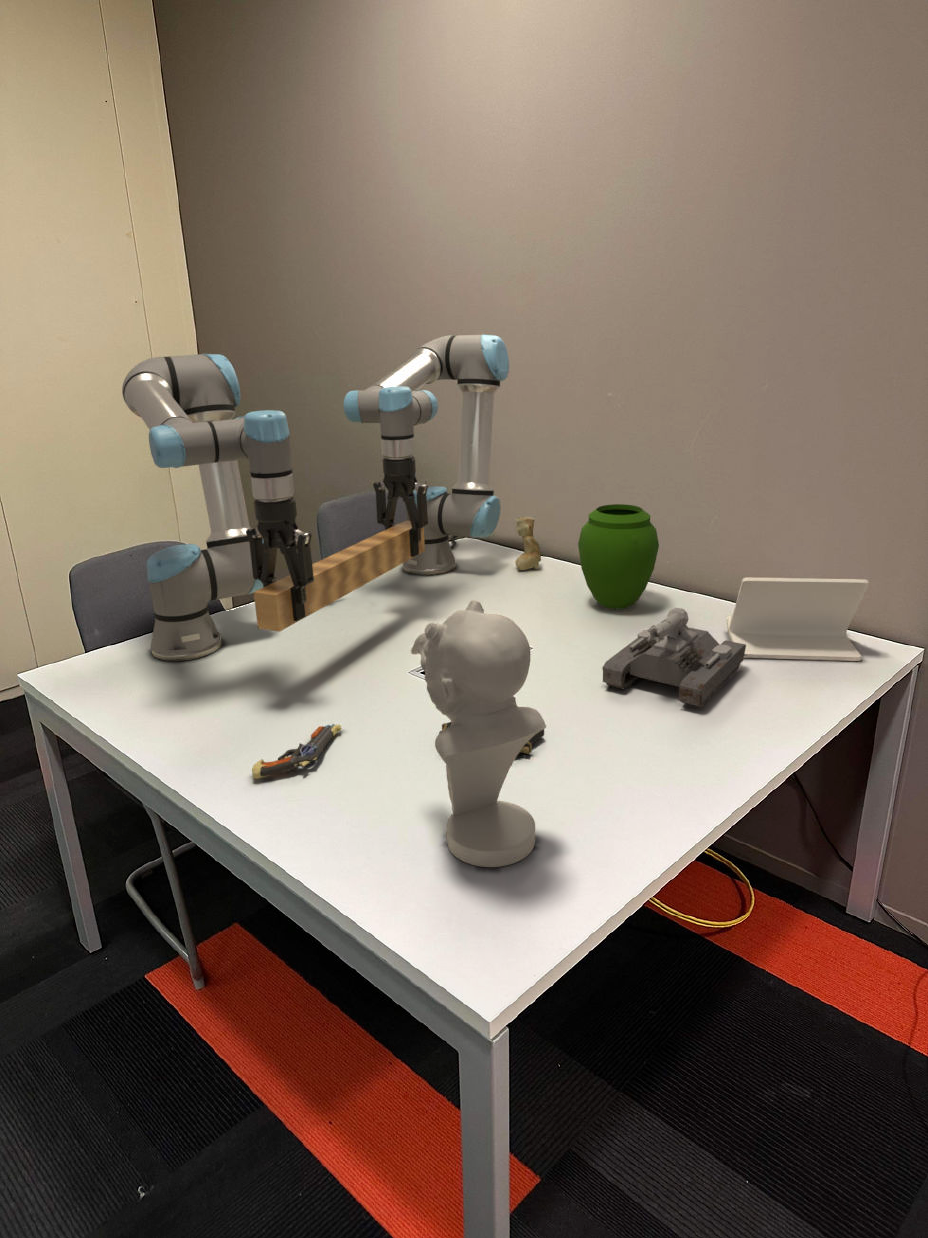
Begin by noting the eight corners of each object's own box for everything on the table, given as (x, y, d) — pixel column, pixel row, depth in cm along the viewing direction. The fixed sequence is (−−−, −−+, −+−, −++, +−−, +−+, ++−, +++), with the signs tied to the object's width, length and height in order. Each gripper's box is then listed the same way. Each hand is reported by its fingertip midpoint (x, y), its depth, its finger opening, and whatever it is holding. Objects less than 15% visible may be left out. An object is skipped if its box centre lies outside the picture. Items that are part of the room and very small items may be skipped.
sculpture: (513, 566, 247) (513, 515, 242) (538, 564, 248) (538, 514, 242) (517, 572, 241) (517, 520, 236) (542, 570, 242) (542, 519, 237)
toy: (653, 647, 188) (657, 582, 183) (744, 666, 177) (750, 598, 172) (601, 689, 169) (603, 618, 163) (699, 713, 158) (704, 638, 152)
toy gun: (246, 768, 139) (303, 766, 137) (290, 722, 157) (341, 719, 155) (250, 783, 140) (306, 781, 138) (293, 735, 158) (344, 733, 155)
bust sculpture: (481, 772, 140) (476, 569, 128) (565, 848, 120) (569, 617, 108) (392, 800, 134) (378, 588, 121) (465, 886, 114) (457, 642, 101)
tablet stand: (862, 661, 178) (873, 583, 172) (738, 657, 181) (745, 581, 175) (838, 629, 195) (848, 557, 189) (725, 626, 198) (731, 556, 192)
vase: (599, 587, 227) (601, 497, 218) (668, 600, 216) (673, 505, 208) (562, 608, 212) (564, 513, 204) (634, 623, 202) (639, 523, 193)
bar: (279, 631, 159) (275, 594, 156) (257, 628, 161) (253, 591, 158) (424, 551, 208) (423, 522, 205) (406, 549, 210) (405, 520, 207)
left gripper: (327, 496, 156) (337, 616, 164) (248, 490, 163) (262, 605, 171) (302, 505, 149) (314, 629, 157) (222, 498, 157) (237, 617, 165)
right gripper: (441, 455, 195) (445, 553, 203) (373, 451, 203) (380, 546, 211) (425, 461, 189) (430, 562, 197) (356, 457, 196) (363, 554, 205)
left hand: (287, 616), depth 164 cm, fingers closed on bar, 5 cm apart
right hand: (404, 553), depth 204 cm, fingers closed on bar, 5 cm apart
